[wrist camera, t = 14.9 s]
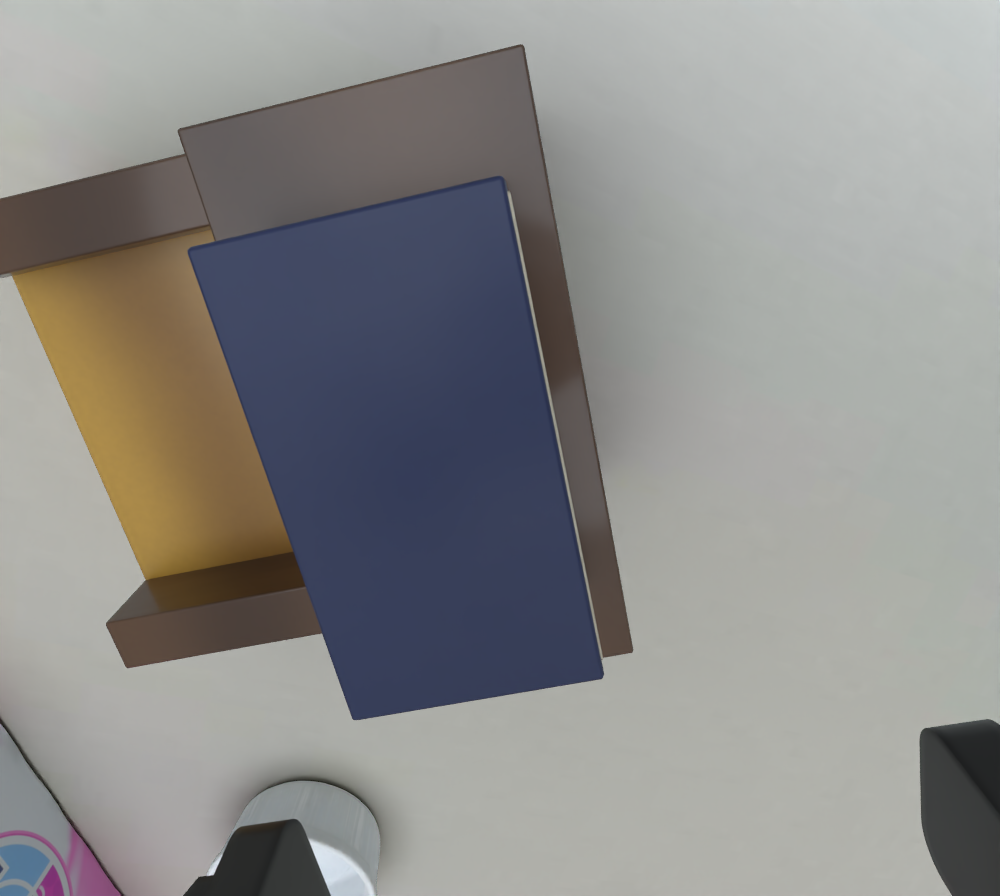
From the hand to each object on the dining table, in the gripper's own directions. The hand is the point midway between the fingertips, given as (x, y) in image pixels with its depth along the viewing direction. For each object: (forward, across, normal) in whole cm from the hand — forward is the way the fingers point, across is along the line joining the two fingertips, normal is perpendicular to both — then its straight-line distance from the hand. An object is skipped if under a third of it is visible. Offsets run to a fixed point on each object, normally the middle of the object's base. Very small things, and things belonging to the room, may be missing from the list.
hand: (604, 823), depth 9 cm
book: (+10, +3, -3) cm, 11 cm away
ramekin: (+24, +18, +23) cm, 38 cm away
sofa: (+23, +8, -3) cm, 25 cm away
